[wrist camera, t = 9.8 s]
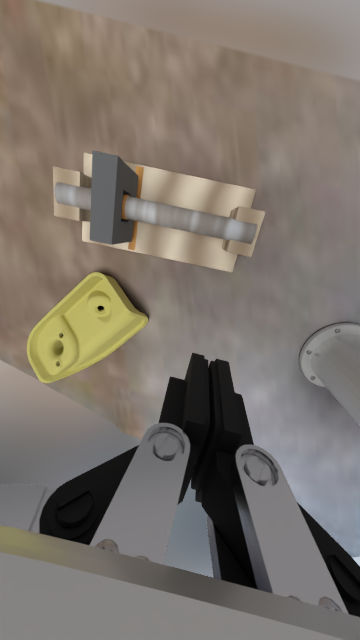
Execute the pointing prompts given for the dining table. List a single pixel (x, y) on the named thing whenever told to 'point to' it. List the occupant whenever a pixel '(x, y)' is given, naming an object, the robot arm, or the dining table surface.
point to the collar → (110, 198)
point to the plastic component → (83, 328)
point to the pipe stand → (171, 215)
